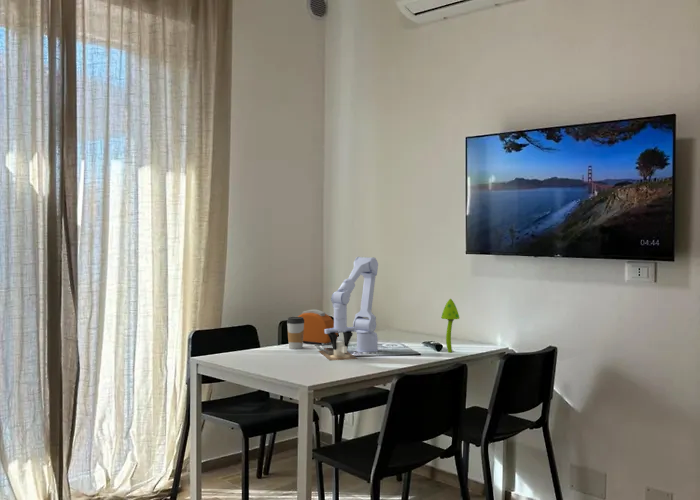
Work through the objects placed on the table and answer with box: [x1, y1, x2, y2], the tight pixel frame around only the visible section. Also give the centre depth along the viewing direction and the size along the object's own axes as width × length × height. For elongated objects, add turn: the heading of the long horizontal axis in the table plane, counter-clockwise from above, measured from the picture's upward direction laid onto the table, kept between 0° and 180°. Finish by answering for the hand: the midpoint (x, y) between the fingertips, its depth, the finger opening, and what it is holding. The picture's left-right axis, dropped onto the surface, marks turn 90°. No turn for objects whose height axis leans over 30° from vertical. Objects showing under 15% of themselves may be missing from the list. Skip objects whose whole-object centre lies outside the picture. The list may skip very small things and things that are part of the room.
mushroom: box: [440, 298, 460, 353], centre depth 324 cm, size 8×8×25 cm
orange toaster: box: [297, 309, 339, 346], centre depth 349 cm, size 23×9×17 cm, turn 59°
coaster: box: [330, 355, 350, 359], centre depth 310 cm, size 9×9×1 cm
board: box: [317, 349, 359, 361], centre depth 315 cm, size 13×24×1 cm, turn 15°
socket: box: [323, 347, 346, 355], centre depth 319 cm, size 8×8×2 cm
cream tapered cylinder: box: [334, 340, 348, 357], centre depth 309 cm, size 9×5×6 cm, turn 27°
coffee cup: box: [286, 316, 304, 350], centre depth 332 cm, size 8×8×15 cm
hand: (340, 348), depth 310 cm, fingers closed on cream tapered cylinder, 5 cm apart
